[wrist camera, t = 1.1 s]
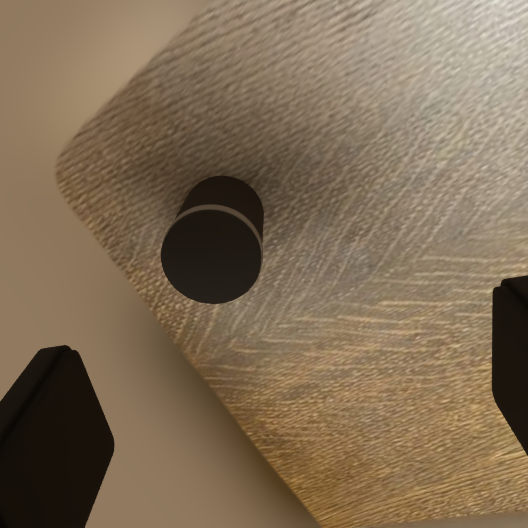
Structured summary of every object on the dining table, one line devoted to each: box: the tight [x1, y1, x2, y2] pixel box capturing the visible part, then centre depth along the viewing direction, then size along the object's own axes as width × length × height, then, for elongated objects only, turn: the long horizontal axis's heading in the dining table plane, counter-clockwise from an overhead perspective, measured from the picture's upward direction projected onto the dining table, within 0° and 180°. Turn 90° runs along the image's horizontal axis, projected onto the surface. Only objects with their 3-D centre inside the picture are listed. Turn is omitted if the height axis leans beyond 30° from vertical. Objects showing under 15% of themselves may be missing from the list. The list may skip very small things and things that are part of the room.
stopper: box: [161, 176, 264, 304], centre depth 24 cm, size 4×4×6 cm
